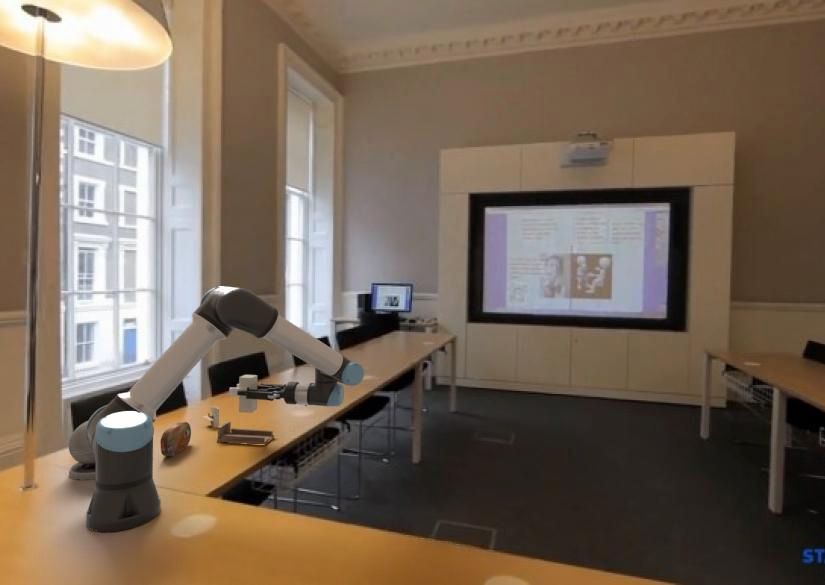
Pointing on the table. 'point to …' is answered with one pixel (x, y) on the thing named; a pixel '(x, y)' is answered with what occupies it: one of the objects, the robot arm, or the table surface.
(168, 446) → the tin
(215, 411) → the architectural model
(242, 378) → the clay bar
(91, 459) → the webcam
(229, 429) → the rack
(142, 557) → the table surface
